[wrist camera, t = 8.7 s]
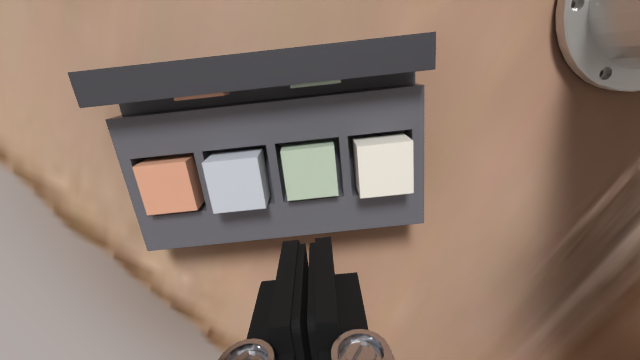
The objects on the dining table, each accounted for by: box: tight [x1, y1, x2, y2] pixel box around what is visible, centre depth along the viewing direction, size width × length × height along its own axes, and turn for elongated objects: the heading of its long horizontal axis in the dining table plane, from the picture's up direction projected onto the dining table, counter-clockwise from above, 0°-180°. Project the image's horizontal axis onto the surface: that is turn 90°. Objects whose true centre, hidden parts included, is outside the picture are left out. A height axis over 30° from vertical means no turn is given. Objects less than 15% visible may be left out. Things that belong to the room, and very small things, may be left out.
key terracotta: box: [132, 153, 205, 215], centre depth 24 cm, size 4×4×2 cm
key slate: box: [202, 148, 270, 214], centre depth 23 cm, size 4×4×2 cm
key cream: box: [353, 133, 414, 199], centre depth 23 cm, size 4×4×2 cm
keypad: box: [68, 32, 436, 251], centre depth 23 cm, size 21×13×6 cm, turn 96°
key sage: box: [280, 138, 339, 201], centre depth 23 cm, size 4×4×2 cm
